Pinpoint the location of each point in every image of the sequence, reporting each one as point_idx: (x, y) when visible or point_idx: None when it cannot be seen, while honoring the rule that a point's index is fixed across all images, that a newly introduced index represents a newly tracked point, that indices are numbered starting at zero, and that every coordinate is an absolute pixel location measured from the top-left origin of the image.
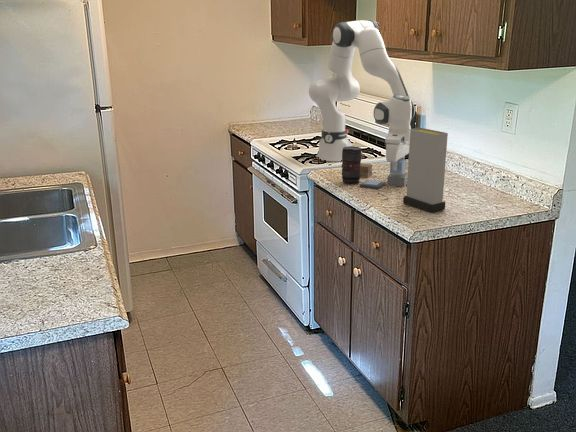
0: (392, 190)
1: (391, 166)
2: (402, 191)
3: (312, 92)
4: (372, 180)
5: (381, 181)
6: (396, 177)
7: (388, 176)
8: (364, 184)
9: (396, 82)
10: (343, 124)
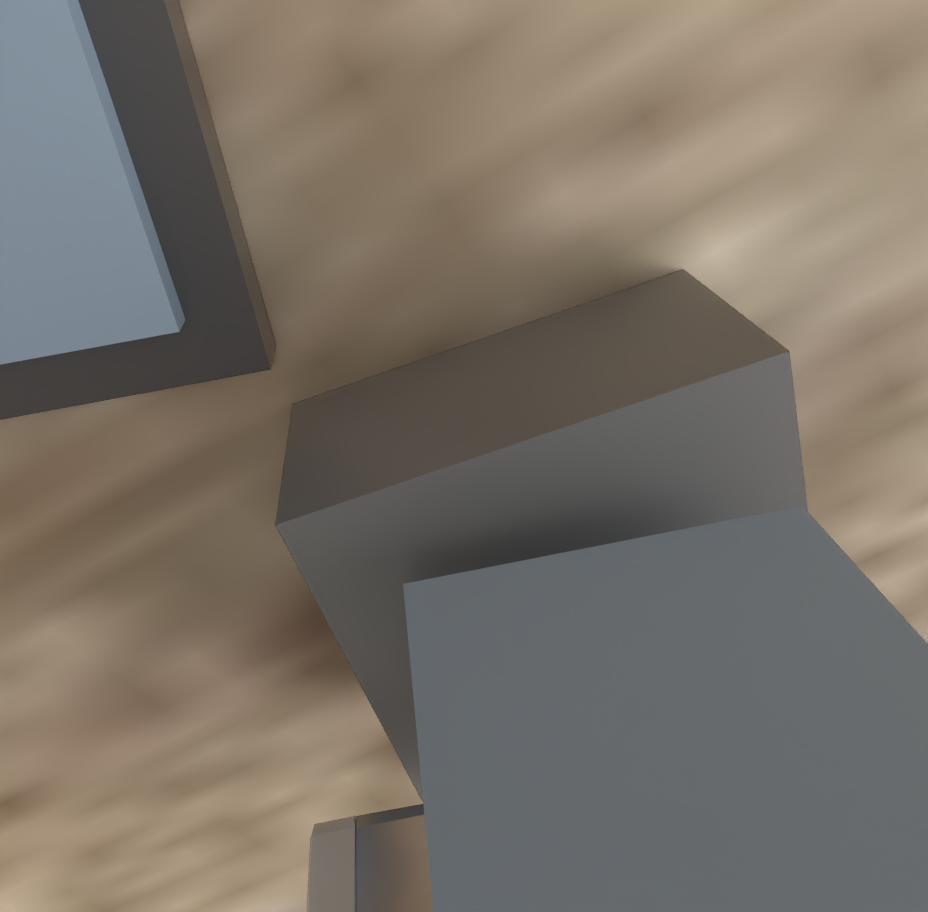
0: (13, 674)
1: (431, 805)
2: (109, 803)
3: None
4: (49, 9)
5: (175, 320)
6: (375, 700)
7: (286, 543)
8: None
9: None
10: None
